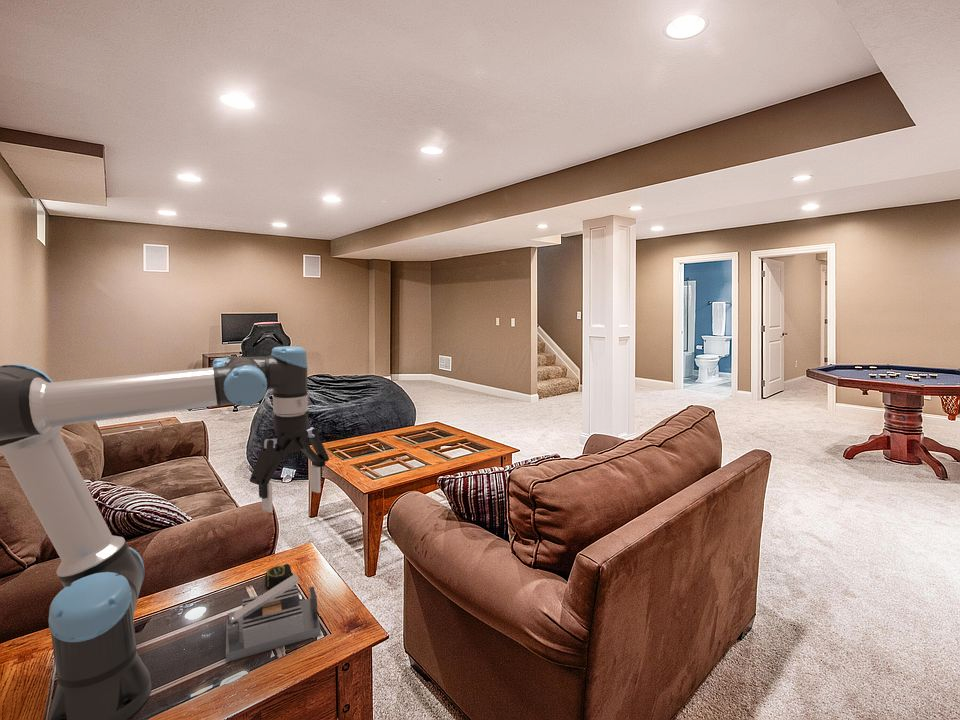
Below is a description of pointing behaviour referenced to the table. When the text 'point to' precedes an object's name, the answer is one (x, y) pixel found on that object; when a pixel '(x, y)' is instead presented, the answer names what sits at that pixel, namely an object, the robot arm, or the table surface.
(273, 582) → the tape measure
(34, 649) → the table surface
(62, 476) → the robot arm
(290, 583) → the grey flat bar
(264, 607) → the heatsink
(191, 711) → the table surface
